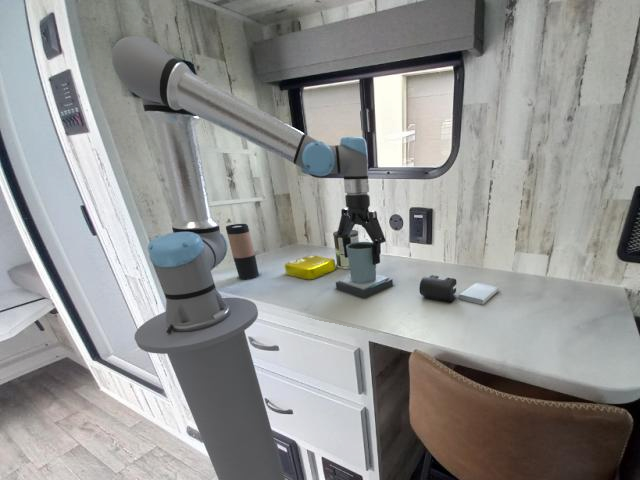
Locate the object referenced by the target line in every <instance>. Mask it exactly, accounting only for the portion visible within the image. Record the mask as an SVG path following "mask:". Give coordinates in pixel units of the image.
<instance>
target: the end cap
mask: <svg viewBox="0 0 640 480" xmlns="http://www.w3.org/2000/svg"><path fill="white" fill-rule="evenodd" d="M457 284H458V283H457V279H456V278H453V277H446V278H445V279H440V278H439V275H433V274H431V275H429V276H428V277H427V276H423V277H422V278H421V280H420V283H419V287H418V288H419V289H418V290H419V294H420V295H421V296H422V297H423V298H428V299H433V300H437V301H444V302H449V303H451V302H452V301H453V300H454V299H455V298H456V292H457V287H455V286H456V285H457Z"/></svg>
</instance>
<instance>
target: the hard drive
mask: <svg viewBox="0 0 640 480" xmlns="http://www.w3.org/2000/svg"><path fill="white" fill-rule="evenodd" d="M498 292H499V287H498V286H494V285H489V284H485V283H481V282H480V283H479V282H475V283H473V284H472V285H471V286H469V287H468V288H467V289H465V290H464V291H462V292H461V293H459V294H458V299H459V300H462V301H466V302H470V303H475V304H478V305H485V304H486V303H487V302H488V301H489V300H490V299H491V298H492V297H493V296H494V295H495V294H497V293H498Z"/></svg>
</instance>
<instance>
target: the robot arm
mask: <svg viewBox="0 0 640 480" xmlns="http://www.w3.org/2000/svg"><path fill="white" fill-rule="evenodd" d="M111 61H112V66H113V69H114V72H115V73H116V75H117V77H118V78H119V80H120V81H121V82H122V84H123V85H124V86H125V88H127V89H128V90H129V91H130V92H132V93H133V94H134V95H136V96H138V97H139V98H141V103H142V106H143V110H144V114H145V115H147V116H148V117H149V118H150V119H151V120H152V122H154V126H155V130H156V134H157V137H158V144H159V147H160V152H161V156H162V160H163V161H162V162H163V165H164V169H165V174H166V178H167V182H168V187H169V191H170V196H171V200H172V204H173V208H174V209H173V210H174V213H175V217H176V219H175V221H173V223H172V224H171V229H172V232H171V233H166V234H165V235H160V236H156V237H155V238H153V239H152V240H150V241H149V243H148V244H147V251H148V254H149V255H148V256H149V261H150V262H151V264H152V266H153V269H154V271H155V274H156V276H157V279H158V282H159V284H160V285H159V286H160V287H161V290H162V292H163V295H164V298H165V300H166V302H165V312H166V324H167V327H168V330H167V331H166V332H167V333H169V334H170V332H171V331H174V332H192V331H197V330H202V329H205V328H209V327H211V326H214V325H216V324H218V323H220V322H222V321H224V320H225V319H226V318H227V317H228V316H229V315H230V309H229V306H228V304H227V303H226V301H225V300H224V299H223V298H224V297H223V296H222V294H221V293H220V292H219V291H218V290H217V287H216V284H215V280H214V277H213V274H212V270H214V268H216V267H217V266H218V265H220V264H221V263H222V262H223V261H224V259H225V257H226V255H227V253H228V241H227V239H226V237H225V236H224V234H222V232H221V228H220V223H219V222H218V221H216V220H215V219H213V217H212V211H211V206H210V200H209V196H208V190H207V184H206V179H205V174H204V173H205V172H204V167H203V161H202V157H201V151H200V145H199V141H198V135H197V129H196V125H197V124H198V123H199V122H200V121H201V119H203V120H205V121H206V122H209V123H211V124H212V125H215V126H217V127H219V128H221V129H223V130H225V131H227V132H229V133H231V134H233V135H235V136H237V137H239V138H241V139H243V140H245V141H247V142H250V143H251V144H254V145H255V146H257V147H258V148H259V147H260V148H261V149H263V150H266V151H268V152H269V153H272V154H274V155H275V156H278V157H280V158H281V159H283V160H286V161H287V162H289V163H292V164H294V165H295V166H297V167H299V168H300V170H301V173H302V174H305V175H311V176H312V175H313V176H316V177H324V176H327V175H329V174H342V175H343V188H344V189H343V190H344V193H345V196H344V198H345V207H346V208H341V209H340V215H341V216H340V220H339V224H338V227H337V231H338V232H337V235H338V236H341V238H342V242H343V247H344V255H345V258H347V257H348V255H347V249H346V246H347V245H348V244H350V243H351V238H350V236H349V235H350V233H351V231H352V230H354V227H355V225H358V226H361V227H362V228H364V230H365V232H366V233H367V235H368V237H369V239H370V240H371V242H372V243H373V244H372V261H373V265H376V266H377V265H378V264H380V263H381V254H382V249H381V248H382V247H381V246H382V245H381V244H384V243H386V241H387V240H386V237H385V235H384V232H383V229H382V226H381V224H380V221H379V219H378V212H377V211H376V210H373V211H370V210H369V208H370V206H371V197H370V196H371V195H370V194H368V193H369V192H370V183H369V181H370V179H369V159H368V156H369V154H368V148H367V147H368V146H367V141H366V139H365V138H364V137H362V136H361V137H360V136H349V137H348V136H347V137H341V138H340V142H339V144H335V145H329V144H326V143H324V142H323V141H319V140H317V139H315V138H313V137H312V136H310V135H307V134H305V133H304V132H302V131H301V130H299V129H297V128H295V127H293V126H291V125H289V124H287V123H286V122H284V121H282V120H280V119H278V118H277V117H274V116H273V115H271V114H269V113H267V112H265V111H264V110H262V109H260V108H258V107H256V106H254V105H252V104H251V103H249V102H247V101H245V100H243V99H242V98H239V97H238V96H235V95H234V94H232V93H230V92H228V91H227V90H224V89H223V88H221V87H219V86H218V85H215V84H213V83H211V82H209V81H207V80H206V79H204V78H202V77H200V76H198V75H197V74H195V73H194V72H193V71H192V70H191V69H190V67H189V66H188V65H187V64H186V63H185V62H184V61H183V60H182V59H180V58H178V57H176V56H175V55H173V54H172V53H170V52H169V51H167V50H166V49H164V48H163V47H162V46H160V45H159V44H157V43H156V42H155V41H152V40H150V39H147V38H146V37H143V36H137V35H131V36H125V37H122V38H121V39H119V40H117V42H116V43H115V44H114V45H113V48H112V51H111Z"/></svg>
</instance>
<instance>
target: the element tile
mask: <svg viewBox="0 0 640 480" xmlns="http://www.w3.org/2000/svg"><path fill="white" fill-rule="evenodd" d="M284 270H285V274H286V275H287V276H290V277H295V278H299V279H303V280H309V281H310V280H315V279H317V278H320V277H322V276H324V275H327V274H330V273H331V272H334V271H335V270H336V261H335V259H334V258H331V257H325V256H318V255H314V254H313V255H312V254H310V255H307V256H303V257H301V258H298V259H295V260H291V261H289V262H288V261H287V262H286V263H285V264H284Z"/></svg>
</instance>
